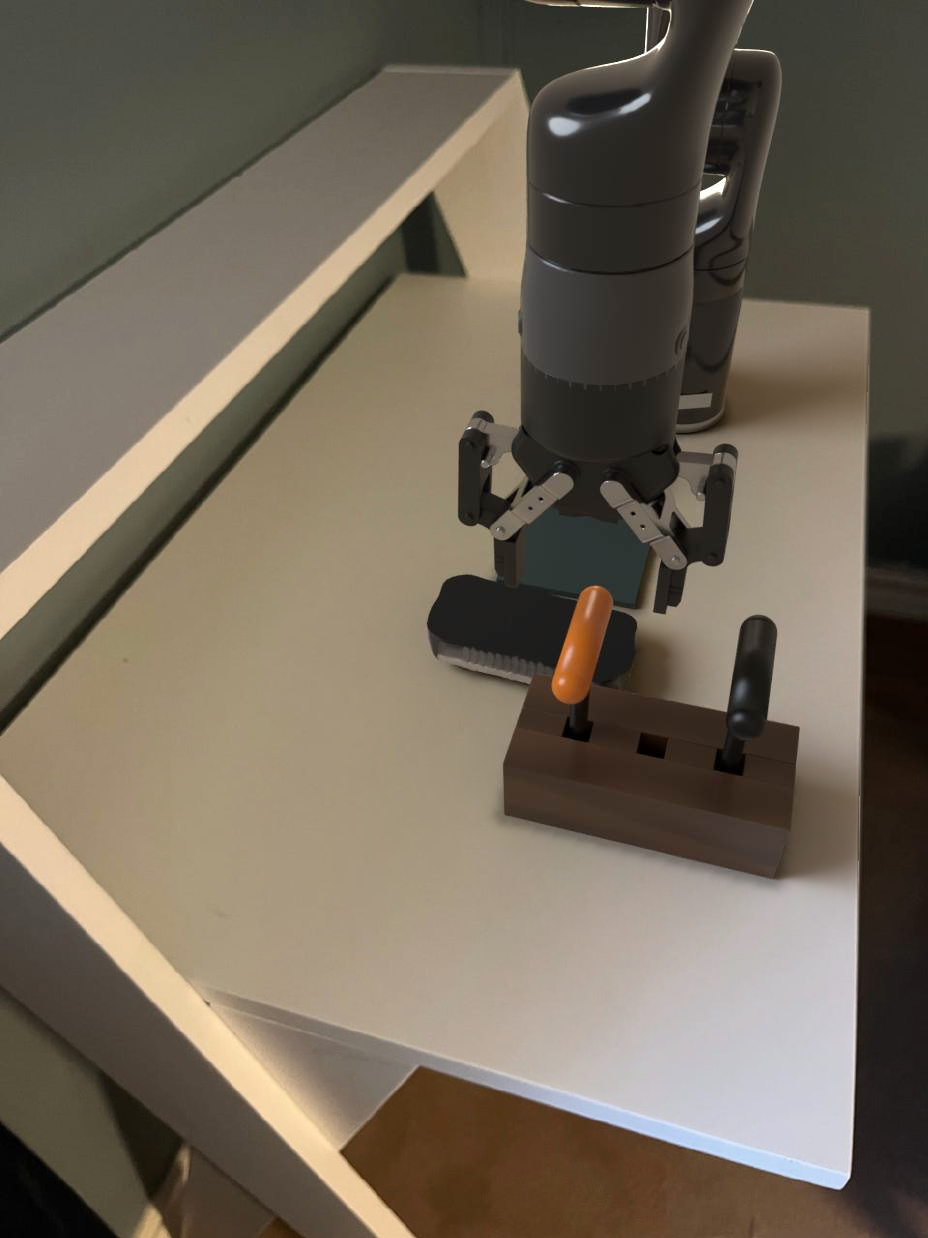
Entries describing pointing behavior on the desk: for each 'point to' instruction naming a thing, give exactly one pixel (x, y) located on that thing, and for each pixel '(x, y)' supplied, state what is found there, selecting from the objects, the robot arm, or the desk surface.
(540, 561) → the mat
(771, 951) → the desk surface
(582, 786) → the tool stand
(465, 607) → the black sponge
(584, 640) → the amber t handle
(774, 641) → the black t handle
